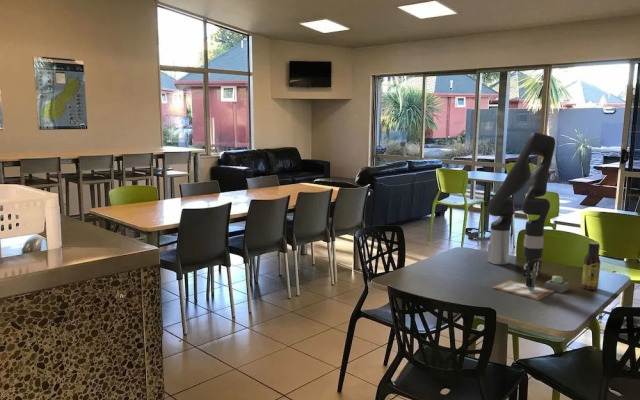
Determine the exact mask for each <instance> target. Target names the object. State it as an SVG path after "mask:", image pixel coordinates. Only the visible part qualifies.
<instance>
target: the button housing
mask: <svg viewBox="0 0 640 400" xmlns="http://www.w3.org/2000/svg"><path fill="white" fill-rule="evenodd" d="M569 287H570V282H567V281H564V280H562V284H561V285H558V284H554V283H552V278H551V279H550V280H547V281H545V282H544V288H545V289H549V290H553V291H554V293H559V294H562V293H565V292H566V291H569Z"/></svg>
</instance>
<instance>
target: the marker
mask: <svg viewBox="0 0 640 400" xmlns="http://www.w3.org/2000/svg"><path fill="white" fill-rule="evenodd" d="M530 271H532V270H530ZM535 281H536V282H537V276H536V268H535V271H534V273H533V276H532V286H531V287H528V288H529V289H534V287H535Z"/></svg>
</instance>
